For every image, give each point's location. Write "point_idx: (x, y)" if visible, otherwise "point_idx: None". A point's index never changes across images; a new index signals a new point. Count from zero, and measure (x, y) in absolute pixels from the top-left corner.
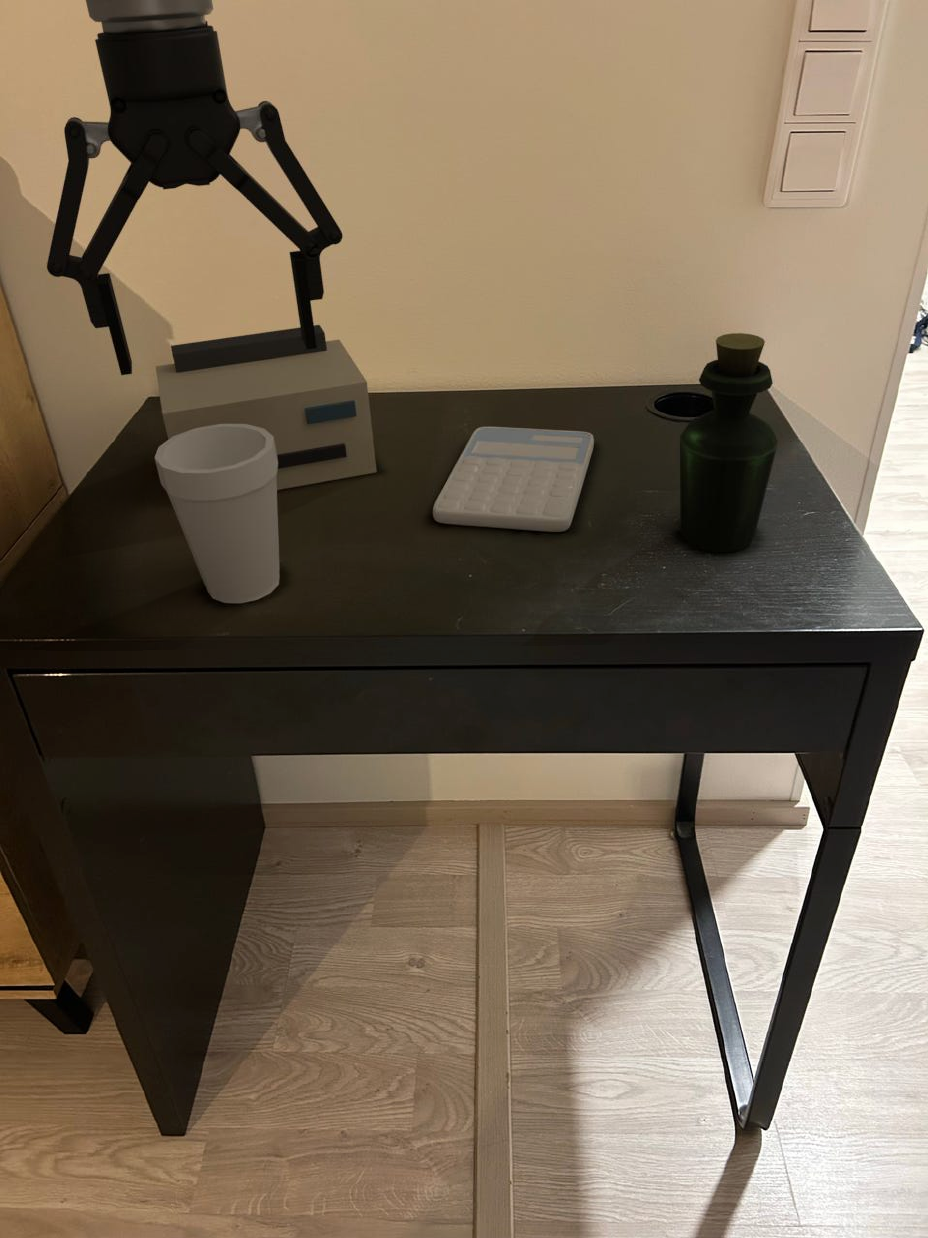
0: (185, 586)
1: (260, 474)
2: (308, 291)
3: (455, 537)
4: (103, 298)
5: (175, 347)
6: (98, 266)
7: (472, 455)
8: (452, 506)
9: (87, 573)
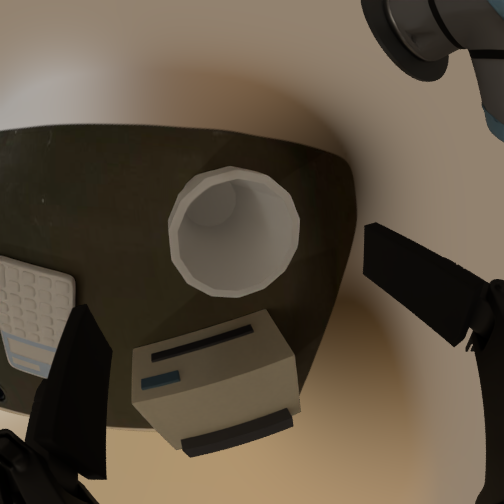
0: None
1: (180, 195)
2: (47, 380)
3: (57, 255)
4: (463, 270)
5: (290, 424)
6: (501, 304)
7: None
8: (58, 282)
9: (319, 226)
